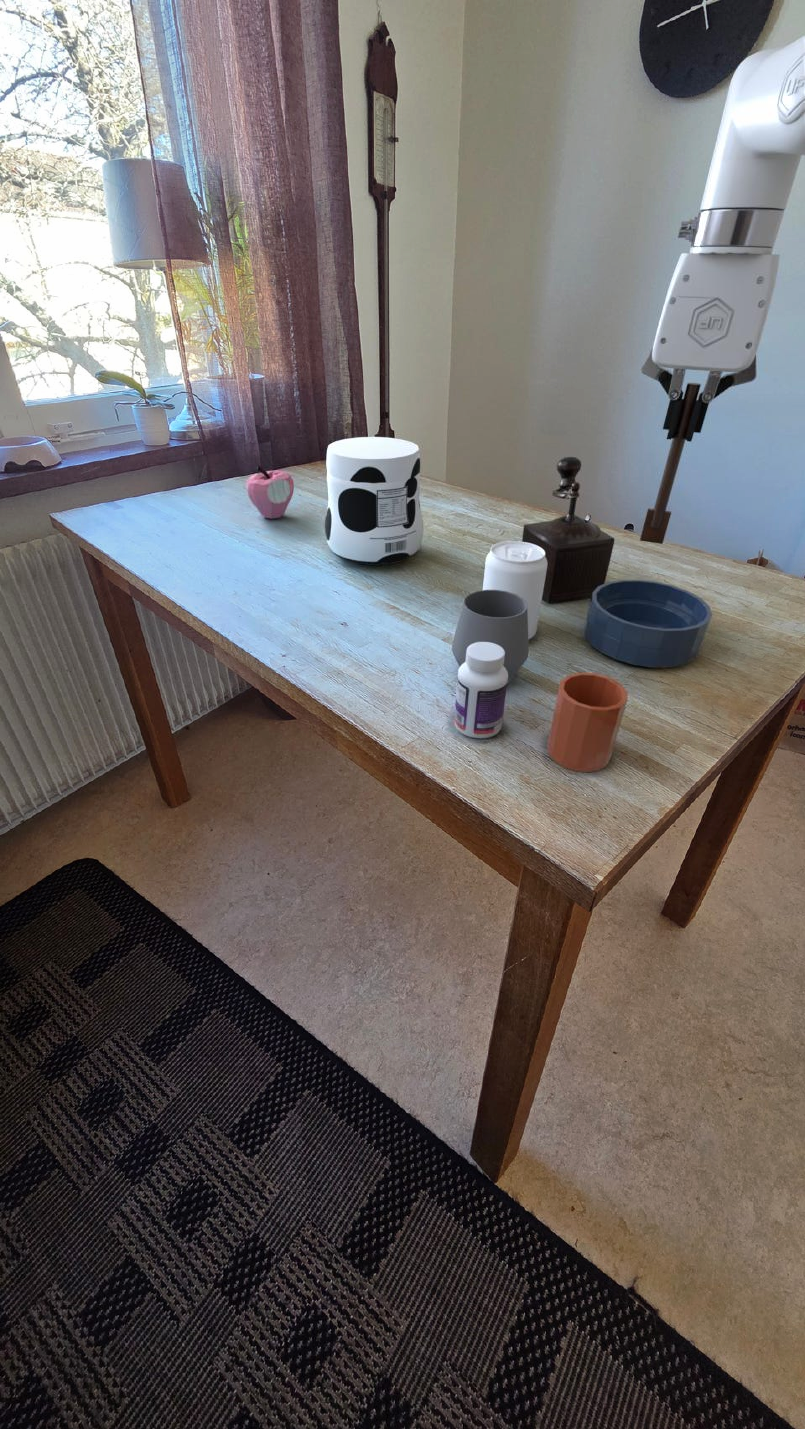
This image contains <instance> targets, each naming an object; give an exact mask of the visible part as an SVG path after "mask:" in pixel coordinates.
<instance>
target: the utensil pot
mask: <svg viewBox="0 0 805 1429" xmlns="http://www.w3.org/2000/svg"><path fill="white" fill-rule="evenodd" d="M627 703H628V691H627V690H626V688H625V687H624V686H623V685H622V684H621V682H619V681H617V680H616V679H613V678H611V677H609V676H608V675H607V676H606V675H603V674H599V673H596V672H584V671H583V672H581V671H580V672H575V673H570V674H568V675H566V676H564V677H563V678H561V680H560V681H559V684H558V688H557V694H556V700H555V705H554V709H553V714H552V719H551V724H550V729H549V733H548V739H547V745H546V750H547V753H548V755H549V757H550V758H551V759H552V760H553V761H554V762H555V763H556V764H558V766H561V767H562V768H565V769H568V770H570V771H575V772H578V773H579V772H581V773H591V772H597V771H600V770H602V769H603V768H605V767H606V766H608V764H609V762H610V760H611V758H612V755H613V752H614V748H615V744H616V741H617V738H618V735H619V731H620V728H621V725H622V721H623V718H624V714H625V710H626V708H627Z"/></svg>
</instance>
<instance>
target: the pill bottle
mask: <svg viewBox="0 0 805 1429" xmlns="http://www.w3.org/2000/svg"><path fill="white" fill-rule="evenodd" d="M504 657H505V651H504V649H503V648H502V647H501V646H499V645H497V644H494V643H490V642H477V643H473V644H471V645H470V646H468V648H467V651H466V662H465V663H463V664H462V665H461V666H460V667H458V670H457V678H456V690H455V706H454V726H455V728H456V730H457V731H459V733H460V734H462V735H464V736H467V737H469V738H472V739H488V738H492V737H494V736H495V735H498V733H499V732H500V731H501V729H502V726H503V721H504V712H505V704H506V697H507V691H508V690H507V689H508V684H509V683H508V682H509V681H508V672H507V670H506V668H505V667H504V666H503V664H504Z"/></svg>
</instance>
